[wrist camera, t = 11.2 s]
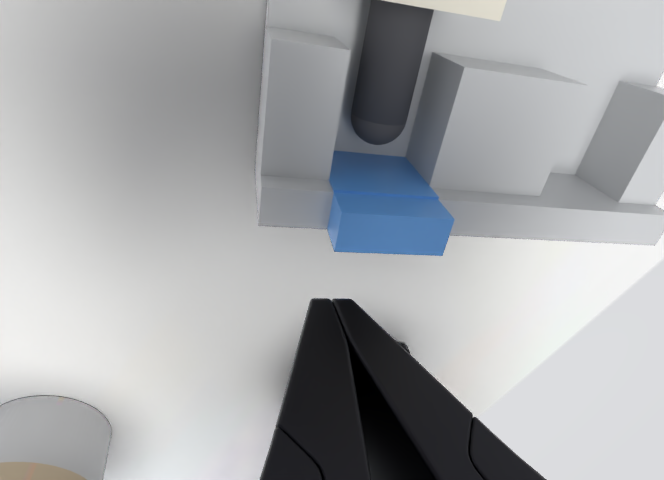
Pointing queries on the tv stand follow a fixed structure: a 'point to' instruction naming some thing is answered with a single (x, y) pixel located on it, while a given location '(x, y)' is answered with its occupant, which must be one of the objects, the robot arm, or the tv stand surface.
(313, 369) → the robot arm
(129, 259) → the tv stand surface
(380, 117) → the cream cube with dome
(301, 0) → the grey backboard with ledge
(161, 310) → the tv stand surface
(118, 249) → the tv stand surface
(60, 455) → the coffee cup
